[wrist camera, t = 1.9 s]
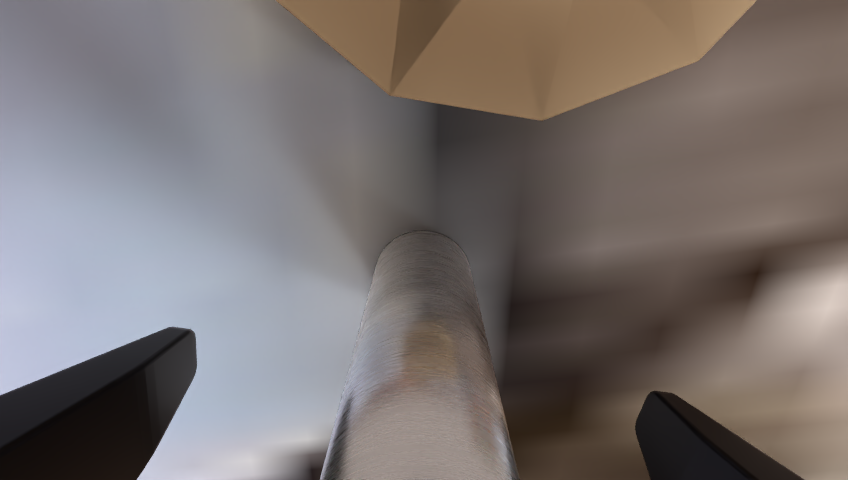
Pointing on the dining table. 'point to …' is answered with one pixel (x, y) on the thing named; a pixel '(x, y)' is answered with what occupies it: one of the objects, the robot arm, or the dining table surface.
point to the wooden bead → (517, 46)
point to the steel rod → (421, 376)
